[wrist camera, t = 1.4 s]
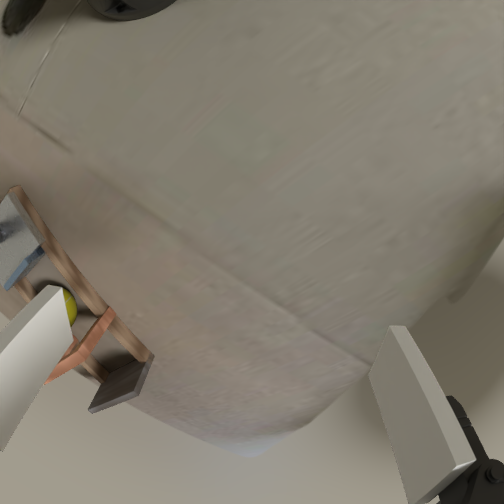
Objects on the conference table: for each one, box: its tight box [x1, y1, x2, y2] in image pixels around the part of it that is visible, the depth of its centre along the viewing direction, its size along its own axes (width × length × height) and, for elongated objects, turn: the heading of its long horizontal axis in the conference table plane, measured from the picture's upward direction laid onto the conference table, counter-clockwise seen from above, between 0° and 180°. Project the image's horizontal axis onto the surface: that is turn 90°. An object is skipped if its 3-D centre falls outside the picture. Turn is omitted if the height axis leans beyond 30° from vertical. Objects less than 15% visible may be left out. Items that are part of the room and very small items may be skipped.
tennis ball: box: [57, 286, 77, 328], centre depth 41 cm, size 7×7×7 cm
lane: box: [7, 185, 155, 414], centre depth 38 cm, size 34×13×11 cm, turn 34°
